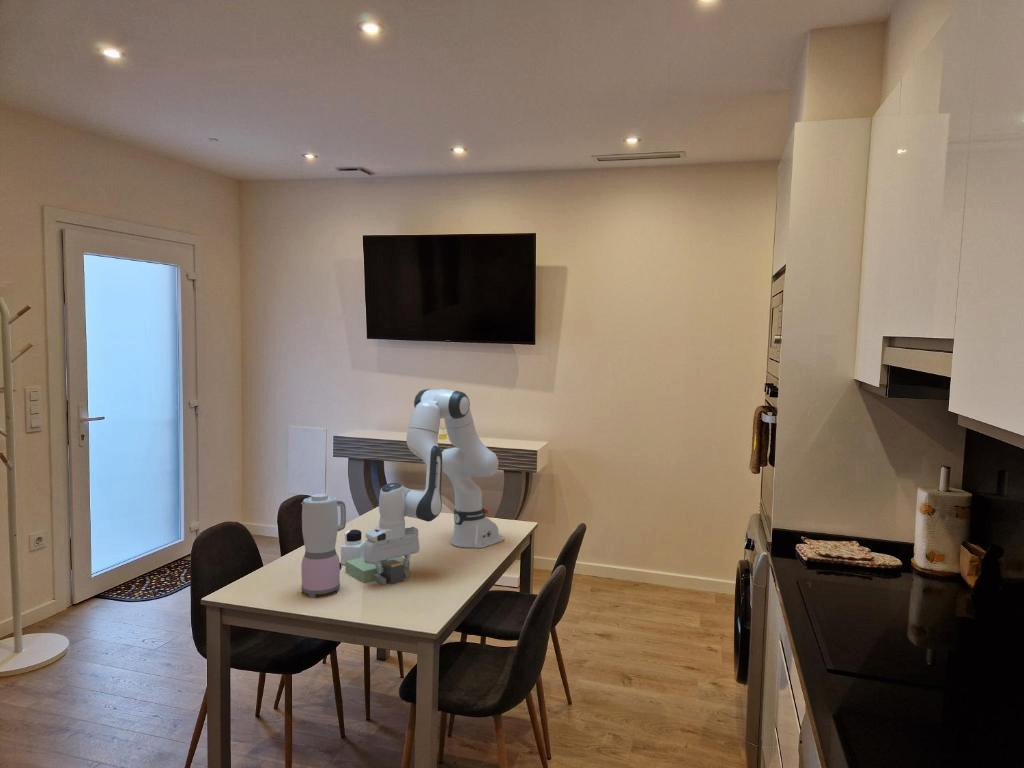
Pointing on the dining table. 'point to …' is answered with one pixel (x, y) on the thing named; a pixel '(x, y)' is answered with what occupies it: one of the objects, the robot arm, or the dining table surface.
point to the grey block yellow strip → (393, 571)
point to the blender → (321, 544)
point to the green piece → (370, 570)
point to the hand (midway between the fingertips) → (392, 570)
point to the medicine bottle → (352, 546)
